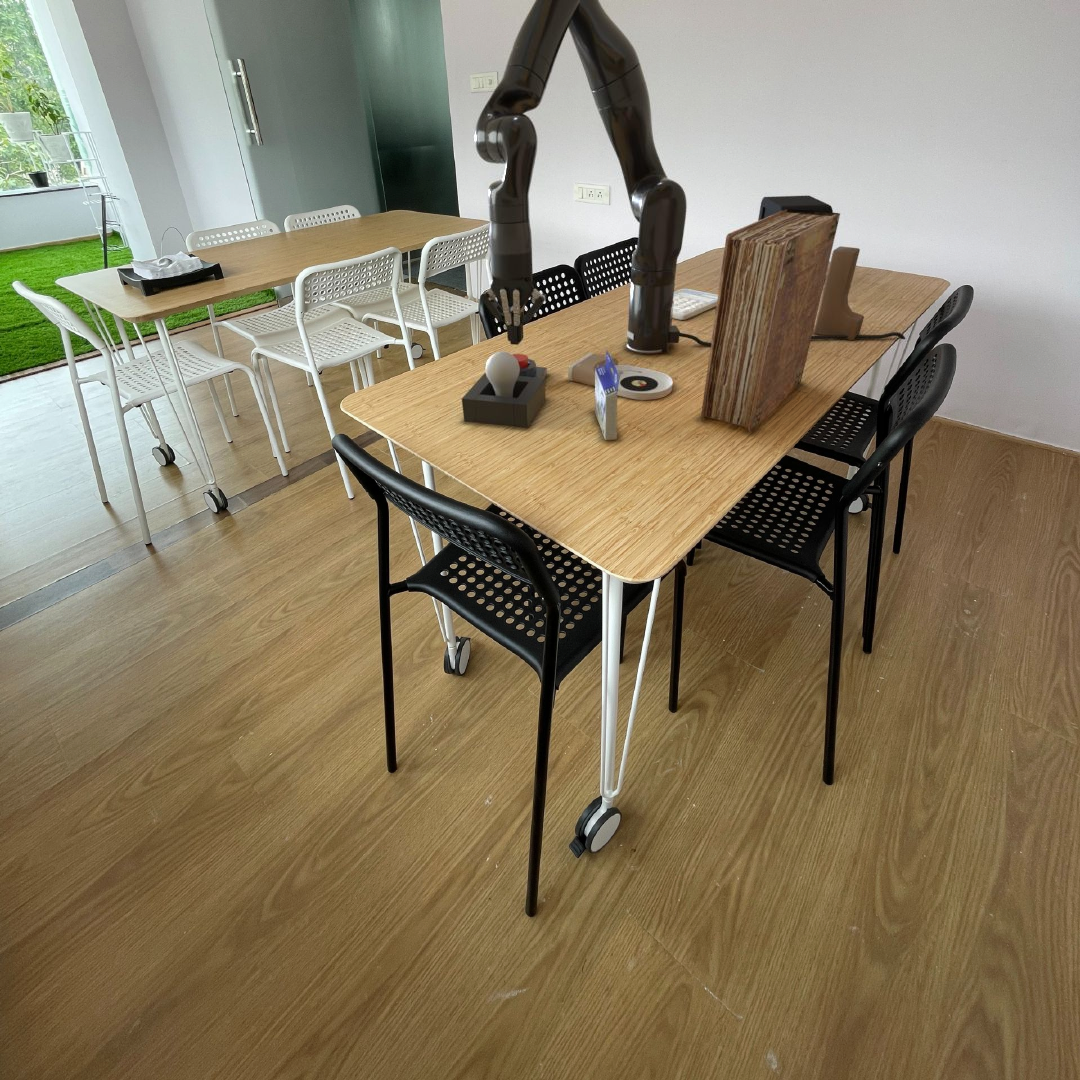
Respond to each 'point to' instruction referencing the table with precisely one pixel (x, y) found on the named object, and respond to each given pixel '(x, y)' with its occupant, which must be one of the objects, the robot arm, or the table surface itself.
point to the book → (766, 313)
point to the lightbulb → (502, 373)
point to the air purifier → (791, 205)
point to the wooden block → (839, 297)
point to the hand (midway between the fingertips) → (515, 343)
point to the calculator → (692, 303)
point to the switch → (533, 370)
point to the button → (521, 360)
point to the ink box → (607, 398)
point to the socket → (504, 403)
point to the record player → (623, 378)
